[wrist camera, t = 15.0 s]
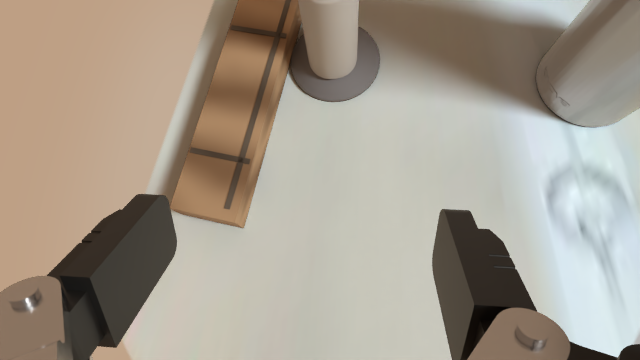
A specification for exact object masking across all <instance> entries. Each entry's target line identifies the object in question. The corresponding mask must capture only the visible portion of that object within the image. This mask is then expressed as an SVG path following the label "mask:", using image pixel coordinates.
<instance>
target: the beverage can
mask: <svg viewBox="0 0 640 360" xmlns="http://www.w3.org/2000/svg"><path fill="white" fill-rule="evenodd" d="M298 3H299V8H300V14H301V20H302V25H303V31H304V37H305V42H306V48H307V54H308V59H309V64H310V67H311V69H312V70H313V72H314V73H315V74H317V75H318V76H320V77H322V78H325V79H337V78H342V77H344V76H346V75H348V74H349V73H350V72H351V71H352V70H353V69H354V67H355V65H356V62H357V45H358V15H359V0H298Z"/></svg>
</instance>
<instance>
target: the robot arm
mask: <svg viewBox="0 0 640 360" xmlns="http://www.w3.org/2000/svg"><path fill="white" fill-rule="evenodd" d="M536 82H537V88H538V91H539V93H540V96H541V98H542V99H543V101H544V102H545V104H546V105H547V106H548V107H549V108H550V109H551V110H552V111H553V112H554V113H555V114H556V115H558V116H559V117H561V118H563V119H564V120H566V121H569V122H571V123H573V124H577V125H581V126H585V127H601V126H608V125H610V124H613V123H616V122H618V121H620V120H621V119H623V118H624V117H626V116H628V115H629V114H631V113H632V112H634V111H636V110H637V109H639V108H640V0H590V1H589V2H588V3H587V5H586V6H585V7H584V8H583V9H582V11H581V12H580V13H579V14H578V15H577V17H576V18H575V19H574V20H573V21H572V23H571V24H570V25H569V26H568V28H567V29H566V30H565V31H564V32H563V33H562V35H561V36H560V37H559V38H558V39H557V41H556V42H555V43H554V44H553V46H552V47H551V48H550V49H549V50H548V52H547V53H546V54H545V55H544V57H543V58H542V60H541V61H540V63H539V66H538V69H537V74H536ZM176 246H177V238H176V233H175V228H174V224H173V219H172V215H171V210H170V206H169V202H168V199H167V198H166V196H164V195H148V194H138V195H136V196H135V197H134V198H133V199H132V200H131V201H130V202H129V203H128V204H127V205H126V206H125V207H124V208H123V209H122V210H118V211H116V212H114V213H113V214H111V215H109V216H108V217H106V218H104V219H103V220H102V221H101V222H100V223H99V224H98V225H97V226H96V227H95V228H94V229H93V230H92V231H91V233H89V234H88V235H87V236H86V237H85V238H84V239H83V240H82V243H79V244H78V245H77V246H76V247H75V248H74V249H73V250H72V251H71V252H70V253H69V254H68V255H67V256H66V257H65V258H64V259H63V260H62V261H61V262H60V263H59V264H58V265H57V266H56V267H55V268H54V269H53V270H52V271H51V272H50V273H49V274H48V275H47V276H38V277H32V278H28V279H25V280H22V281H20V282H17V283H15V284H13V285H11V286H9V287H8V288H6V289H4V290H3V291H2V292H0V360H93V358H92V356H91V354H92V353H93V352H94V350H95V349H96V347H97V346H103V347H117V346H118V344H119V342H120V341H121V339H122V338H123V336H124V335H125V333H126V331H127V330H128V328H129V327H130V325H131V324H132V322H133V320H134V319H135V317H136V316H137V314H138V312H139V311H140V309H141V308H142V306H143V305H144V303H145V301H146V300H147V298H148V297H149V295H150V293H151V292H152V290H153V289H154V287H155V286H156V284H157V282H158V281H159V279H160V278H161V276H162V275H163V273H164V271H165V270H166V268H167V267H168V265H169V263H170V262H171V260H172V259H173V257H174V255H175V251H176ZM509 256H510V255H509V253H508V251H507V249H506V247H505V245H504V243H503V241H502V240H501V239H499V238H498V237H497V236H496V235H495V234H494V233H493V232H492V231H490V230H489V229H478V228H477V225H476V223H475V221H474V218H473V216H472V214H471V212H470V211H469V210H448V209H442V210H441V212H440V215H439V220H438V226H437V232H436V238H435V244H434V250H433V258H432V267H433V275H434V280H435V285H436V289H437V294H438V298H439V303H440V307H441V312H442V316H443V321H444V325H445V330H446V334H447V339H448V343H449V348H450V352H451V357H452V360H640V344H636V345H630V346H627V347H626V348H624V349H623V350H622V351H621V353H620V355H619V357H618V358H617V357H614V356H610V355H607V354H604V353H601V352H598V351H595V350H591V349H588V348H585V347H582V346H579V345H577V344H574V343H572V342H570V341H569V339H568V337H567V335H566V334H565V332H564V331H563V330H562V329H561V328H560V326H559V325H557V324H556V323H555V322H554V321H553V320H551V319H550V318H548V317H546V316H545V315H543V314H541V313H538V312H537V310H536V308H535V306H534V304H533V302H532V300H531V298H530V296H529V294H528V292H527V290H526V288H525V286H524V284H523V282H522V279H521V277H520V275H519V273H518V271H517V270H515V265H514V263H513V261H512V259H511V258H510V257H509Z"/></svg>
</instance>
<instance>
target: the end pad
mask: <svg viewBox="0 0 640 360" xmlns="http://www.w3.org/2000/svg"><path fill="white" fill-rule="evenodd" d="M379 62H380V56H379V50H378V48H377V45H376V43H375V41H374V40H373V38H372V37H371V36H370V35H369V34H368V33H367V32H366V31H365V30H363V29H362V28H360V27H358V45H357V62H356V65H355V67H354V69H353V70H352V71H351V72H350V73H349V74H348V75H346V76H344V77H342V78H337V79H325V78H322V77H320V76H318V75H317V74H315V73H314V72H313V70H312V69H311V67H310V64H309V59H308V54H307V48H306V42H305V37H304V34H303V35H302V36H301V37H300V39H299V40H298V41H297V43H296V44H295V46H294V48H293V51H292V55H291V70H292V73H293V77H294V79H295V81H296V83H297V84H298V86H299V87H300V88H301V89H302V90H303V91H304V92H305V93H307V94H308V95H310V96H312V97H314V98H316V99H319V100H322V101H327V102H340V101H346V100H349V99H352V98H354V97H356V96H358V95H360V94H361V93H363V92H364V91H365V90H366V89H368V88H369V87H370V85H371V84H372V83H373V81H374V79H375V78H376V75H377V73H378V69H379Z"/></svg>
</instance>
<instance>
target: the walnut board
mask: <svg viewBox="0 0 640 360" xmlns="http://www.w3.org/2000/svg"><path fill="white" fill-rule="evenodd" d="M301 22H302V20H301V14H300V8H299V3H298V0H238V3H237V6H236V9H235V12H234V15H233V18H232V21H231V24H230V27H229V30H228V33H227V36H226V39H225V42H224V45H223V48H222V51H221V54H220V57H219V60H218V63H217V66H216V69H215V72H214V75H213V78H212V81H211V84H210V87H209V90H208V93H207V97H206V100H205V103H204V106H203V109H202V112H201V115H200V118H199V121H198V124H197V127H196V130H195V133H194V136H193V139H192V142H191V145H190V148H189V151H188V154H187V157H186V160H185V163H184V166H183V169H182V172H181V175H180V178H179V181H178V184H177V187H176V190H175V193H174V196H173V199H172V202H171V205H170V209H172V210H174V211H177V212H179V213H181V214H183V215H187V216H192V217H196V218H200V219H205V220H209V221H214V222H218V223H223V224H227V225H231V226H236V227H240V228H244V226H245V222H246V219H247V215H248V211H249V208H250V204H251V201H252V197H253V194H254V190H255V186H256V183H257V179H258V176H259V172H260V169H261V165H262V161H263V158H264V154H265V151H266V147H267V144H268V140H269V136H270V133H271V129H272V126H273V122H274V119H275V115H276V111H277V108H278V104H279V101H280V97H281V94H282V90H283V86H284V83H285V79H286V76H287V72H288V69H289V65H290V62H291V55H292V51H293V48H294V46H295V44H296V40H297V37H298V33H299V29H300V26H301Z"/></svg>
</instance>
